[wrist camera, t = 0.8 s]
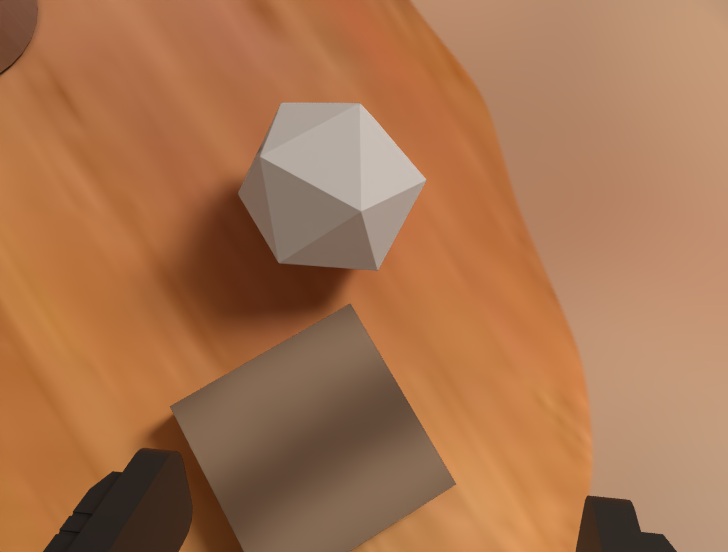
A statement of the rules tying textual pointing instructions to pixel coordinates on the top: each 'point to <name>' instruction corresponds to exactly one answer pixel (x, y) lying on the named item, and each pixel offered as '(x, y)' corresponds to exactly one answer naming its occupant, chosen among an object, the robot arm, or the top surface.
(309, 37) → the top surface
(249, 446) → the walnut base
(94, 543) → the robot arm
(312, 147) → the die
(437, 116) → the top surface
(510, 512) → the top surface
